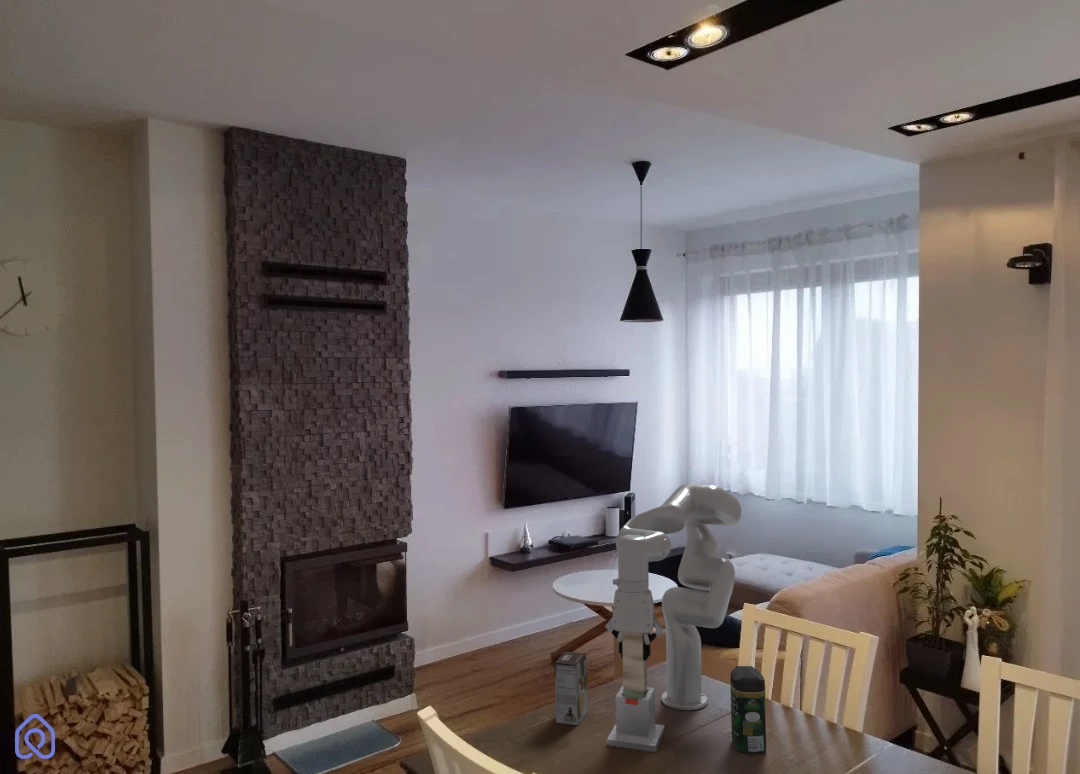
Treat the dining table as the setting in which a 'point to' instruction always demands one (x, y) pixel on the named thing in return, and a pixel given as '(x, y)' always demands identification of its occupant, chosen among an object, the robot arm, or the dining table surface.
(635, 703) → the stand
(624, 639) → the post
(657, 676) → the dining table surface
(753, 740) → the coffee jar
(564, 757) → the dining table surface
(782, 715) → the dining table surface
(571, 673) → the coffee box
